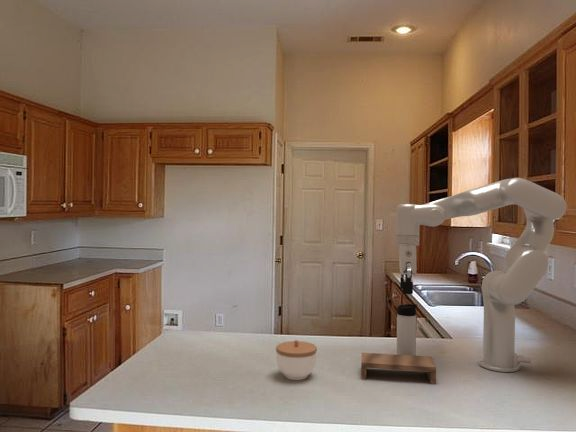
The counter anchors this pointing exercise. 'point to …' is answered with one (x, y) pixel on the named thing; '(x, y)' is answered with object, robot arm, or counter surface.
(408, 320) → the travel mug
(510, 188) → the robot arm
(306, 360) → the lidded bowl
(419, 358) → the riser shelf
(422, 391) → the counter surface
